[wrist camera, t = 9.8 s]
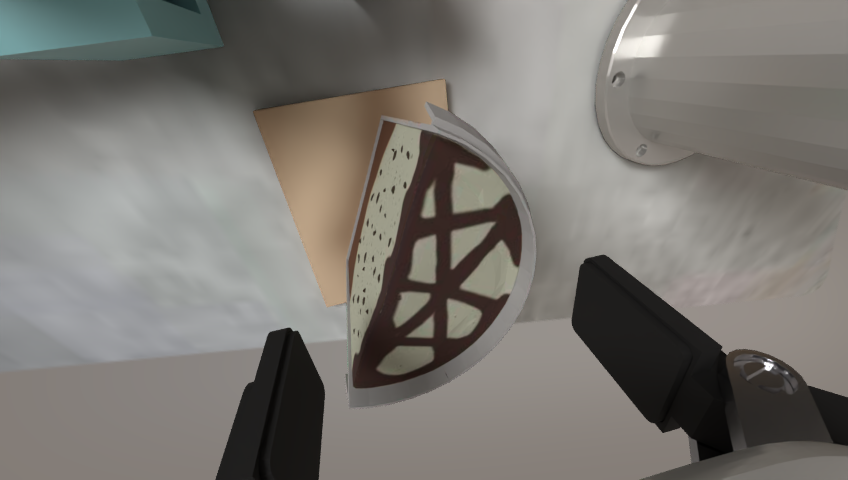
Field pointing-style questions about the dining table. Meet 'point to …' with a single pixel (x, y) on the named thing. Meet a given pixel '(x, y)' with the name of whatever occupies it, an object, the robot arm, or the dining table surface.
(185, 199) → the dining table surface
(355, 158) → the mat
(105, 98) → the dining table surface
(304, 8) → the dining table surface
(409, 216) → the food container
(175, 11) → the sleeve
